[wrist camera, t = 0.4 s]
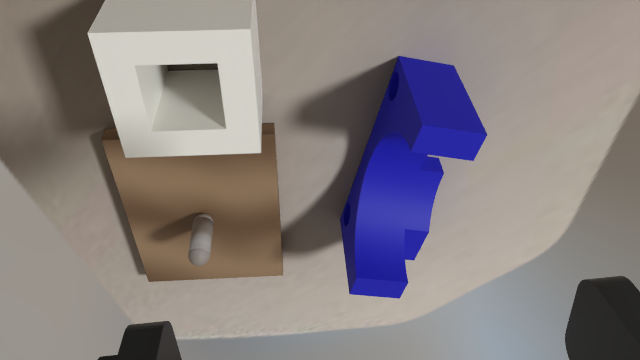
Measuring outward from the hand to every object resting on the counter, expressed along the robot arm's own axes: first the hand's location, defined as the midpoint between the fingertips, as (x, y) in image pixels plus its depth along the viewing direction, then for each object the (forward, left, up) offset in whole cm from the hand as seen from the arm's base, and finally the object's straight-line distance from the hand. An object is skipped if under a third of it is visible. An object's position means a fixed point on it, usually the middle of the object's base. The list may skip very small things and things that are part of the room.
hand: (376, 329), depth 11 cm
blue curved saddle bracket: (+11, +5, -19) cm, 22 cm away
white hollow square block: (+3, -6, -18) cm, 19 cm away
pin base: (+14, -7, -18) cm, 24 cm away
